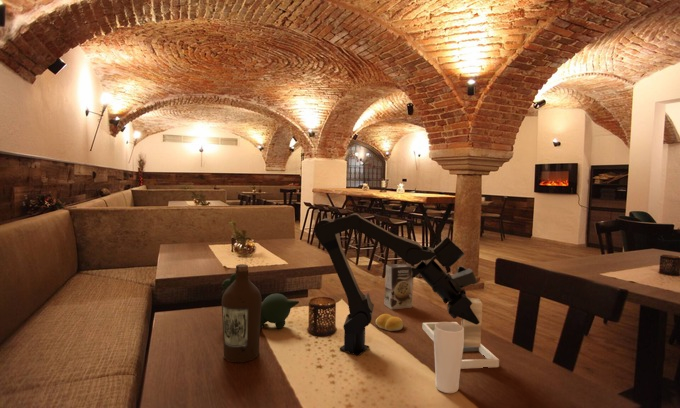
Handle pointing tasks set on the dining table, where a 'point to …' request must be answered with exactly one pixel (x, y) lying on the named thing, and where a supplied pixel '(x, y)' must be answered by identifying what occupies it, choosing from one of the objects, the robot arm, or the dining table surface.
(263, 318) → the toy figurine
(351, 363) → the dining table surface
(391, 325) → the bread roll
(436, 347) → the drinking glass
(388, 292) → the white cardboard box
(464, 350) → the box
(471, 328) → the maple block
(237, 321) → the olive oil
